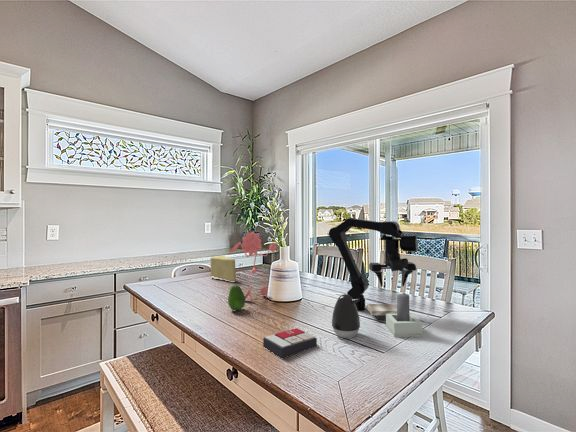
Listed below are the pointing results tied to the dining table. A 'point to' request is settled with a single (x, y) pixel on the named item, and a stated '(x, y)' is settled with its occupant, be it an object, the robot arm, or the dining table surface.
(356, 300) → the dark egg shaped device
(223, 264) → the cheese
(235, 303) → the avocado
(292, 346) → the red and grey box
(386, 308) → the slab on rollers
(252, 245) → the figurine
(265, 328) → the dining table surface
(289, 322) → the dining table surface
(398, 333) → the socket stand
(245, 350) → the dining table surface
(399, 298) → the dark grey block
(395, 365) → the dining table surface
